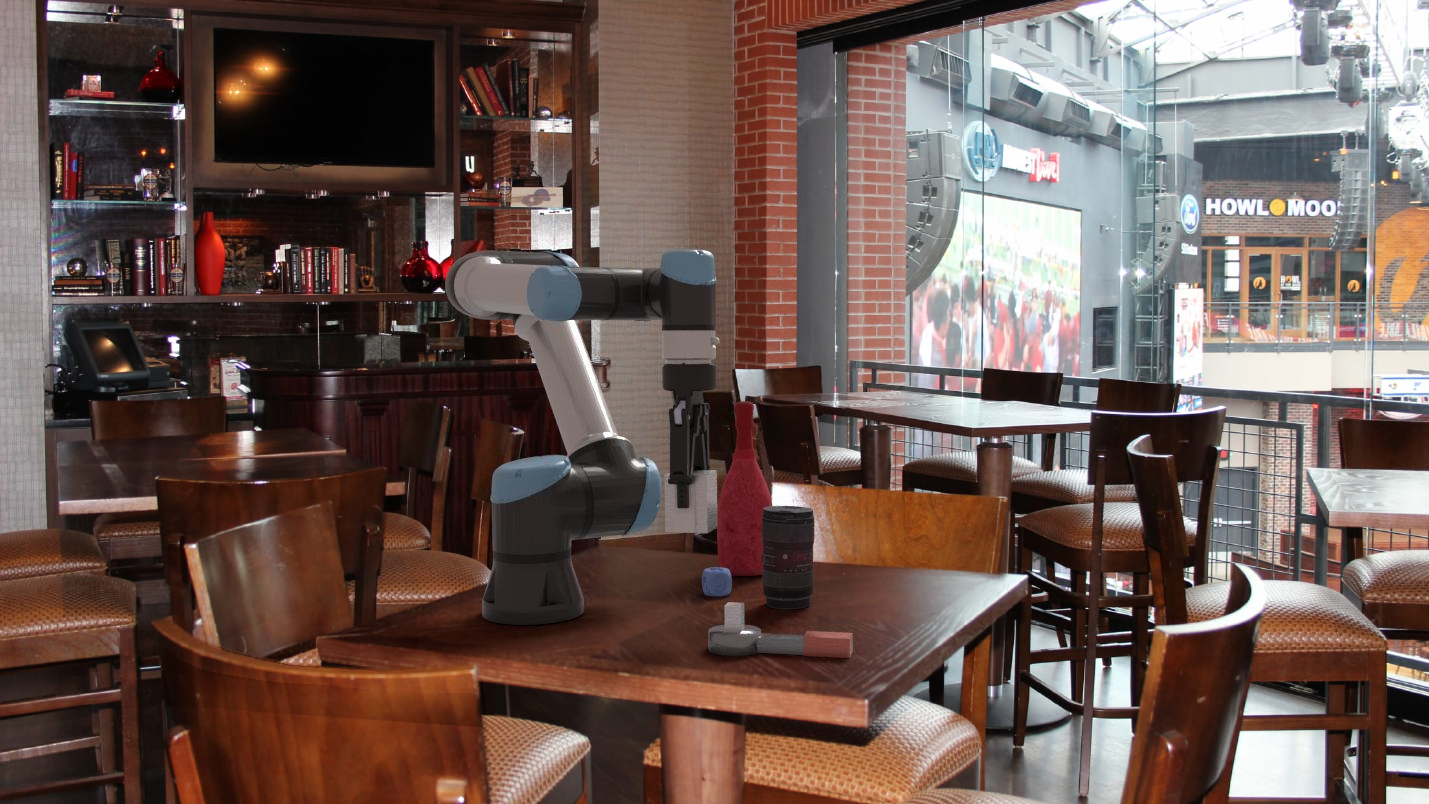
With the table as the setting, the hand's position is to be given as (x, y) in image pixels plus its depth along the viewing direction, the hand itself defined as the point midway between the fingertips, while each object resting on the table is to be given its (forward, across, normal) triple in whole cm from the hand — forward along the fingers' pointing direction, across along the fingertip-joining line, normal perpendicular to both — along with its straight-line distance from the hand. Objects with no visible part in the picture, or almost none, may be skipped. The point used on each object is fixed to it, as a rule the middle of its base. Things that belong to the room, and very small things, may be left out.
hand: (691, 527), depth 172 cm
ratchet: (+15, -8, -14) cm, 22 cm away
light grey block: (0, 0, 0) cm, 0 cm away
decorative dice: (+15, +25, +2) cm, 30 cm away
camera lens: (+15, +20, -10) cm, 27 cm away
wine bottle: (+15, +43, +1) cm, 46 cm away
